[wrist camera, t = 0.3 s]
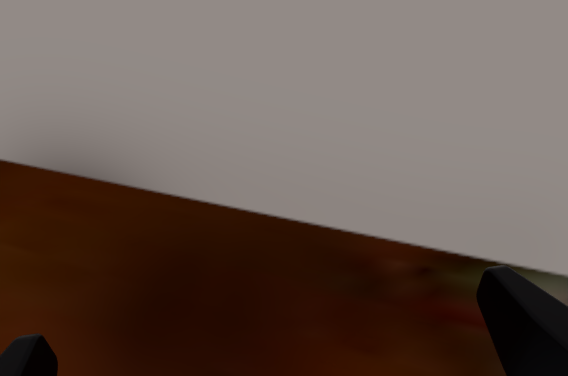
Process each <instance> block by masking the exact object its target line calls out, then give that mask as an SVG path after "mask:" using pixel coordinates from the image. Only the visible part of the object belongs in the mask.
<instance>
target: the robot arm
mask: <svg viewBox="0 0 568 376" xmlns="http://www.w3.org/2000/svg"><path fill="white" fill-rule="evenodd" d="M476 296H477V302H478V305H479V308H480V310H481V313H482V315H483V318H484V320H485V323H486V326H487V328H488V331H489V333H490V336H491V338H492V341H493V343H494V346H495V349H496V351H497V354H498V356H499V359H500V361H501V364H502V366H503V368H504V371H505V373H506V375H507V376H568V306H567V305H565V304H564V303H562V302H561V301H559V300H558V299H556V298H555V297H553V296H552V295H550V294H549V293H547V292H546V291H544V290H543V289H541V288H540V287H538V286H537V285H535V284H534V283H532V282H531V281H529V280H528V279H526V278H525V277H523V276H522V275H520V274H519V273H517V272H516V271H514V270H513V269H511V268H509V267H507V266H495V267H488V268H487V269H485V270H484V272H483V275H482V278H481V281H480V284H479V287H478V289H477V295H476ZM57 370H58V362H57V357H56V355H55V353H54V352H53V350H52V349H51V347H50V346H49V344H48V343H47V341H46V340H45V338H44V337H43V336H42V335H41V334H31V335H24V336H20V337H18V338H16V339H15V340H14V341H13V342H12V343H11V344H10V345H9V346H8V347H7V348H6V349H5V351H4V352H3V353H2V354H1V355H0V376H57Z"/></svg>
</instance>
